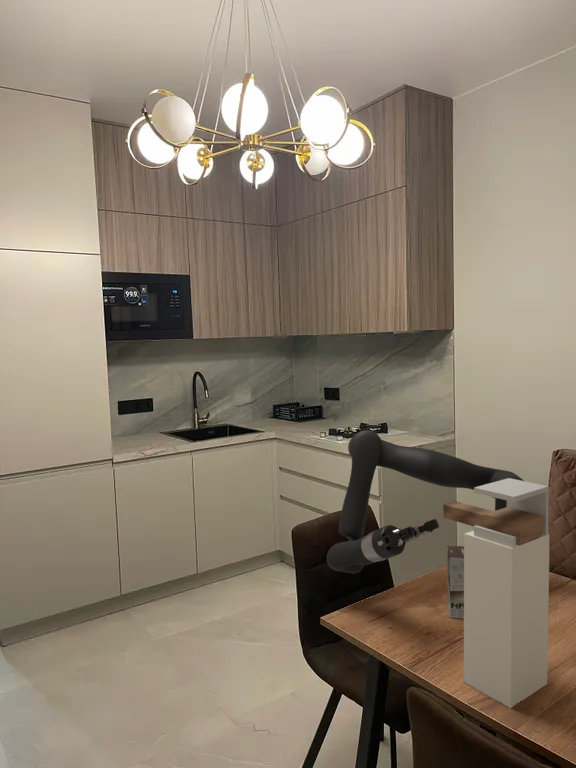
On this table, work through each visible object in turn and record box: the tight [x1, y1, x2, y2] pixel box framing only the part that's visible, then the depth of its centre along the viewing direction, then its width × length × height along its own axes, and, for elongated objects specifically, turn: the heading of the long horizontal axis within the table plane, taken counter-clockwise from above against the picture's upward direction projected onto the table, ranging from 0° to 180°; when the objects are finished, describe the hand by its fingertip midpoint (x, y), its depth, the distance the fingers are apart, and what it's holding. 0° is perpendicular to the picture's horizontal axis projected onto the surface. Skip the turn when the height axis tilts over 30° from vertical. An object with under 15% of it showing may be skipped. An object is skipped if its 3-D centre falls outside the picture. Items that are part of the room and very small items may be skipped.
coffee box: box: [446, 545, 464, 620], centre depth 154 cm, size 9×6×16 cm
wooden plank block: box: [442, 500, 543, 544], centre depth 123 cm, size 20×8×4 cm, turn 36°
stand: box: [463, 478, 550, 709], centre depth 120 cm, size 11×13×42 cm
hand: (424, 526), depth 137 cm, fingers open, 8 cm apart
